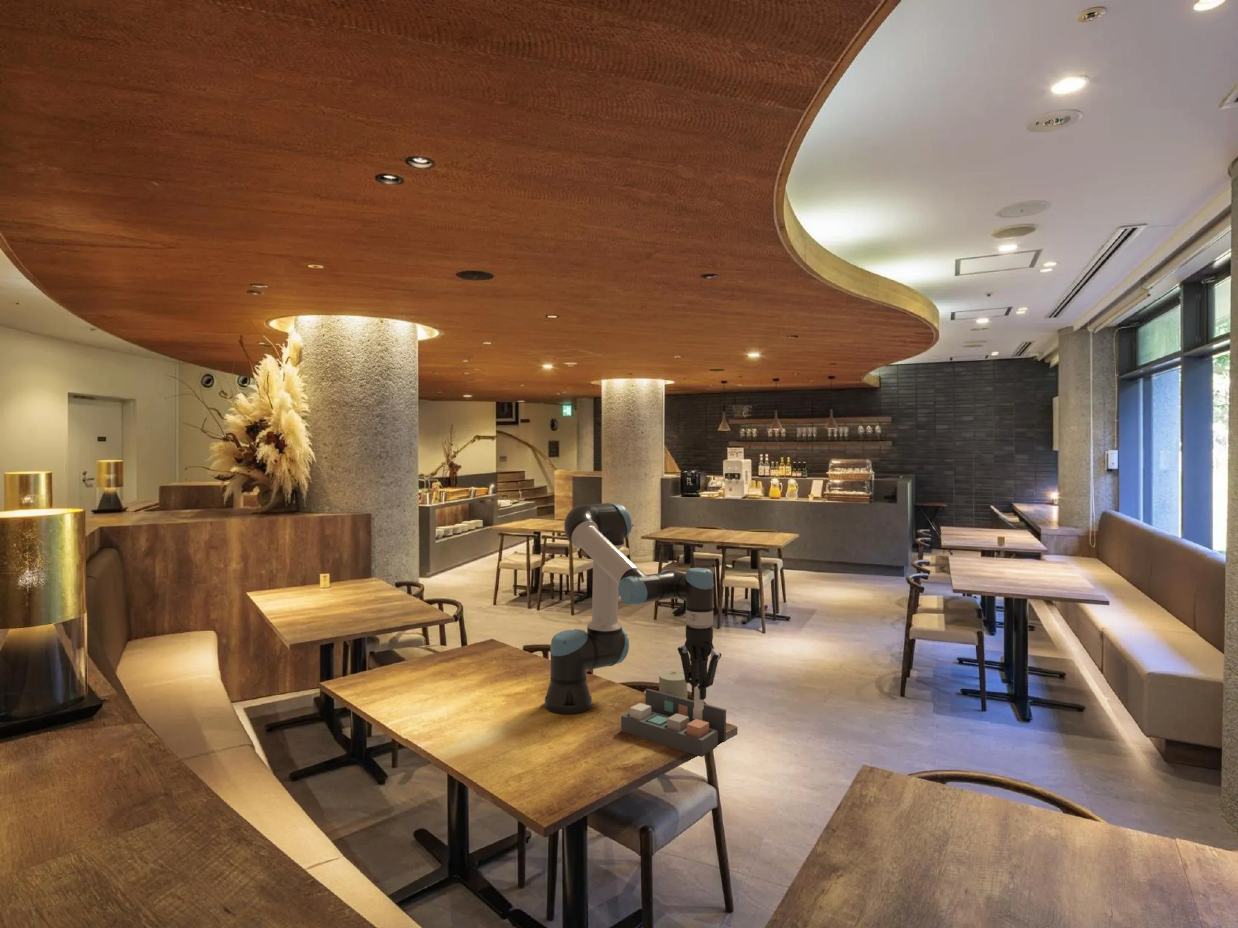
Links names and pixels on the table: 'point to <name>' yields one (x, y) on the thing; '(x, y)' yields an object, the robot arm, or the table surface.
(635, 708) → the key
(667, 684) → the can
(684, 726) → the grey block
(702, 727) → the key
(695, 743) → the key frame
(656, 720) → the key
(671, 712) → the screen
